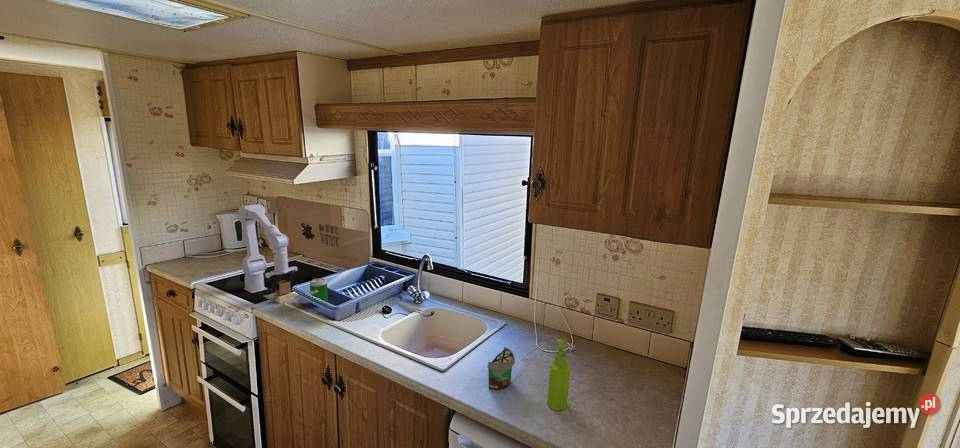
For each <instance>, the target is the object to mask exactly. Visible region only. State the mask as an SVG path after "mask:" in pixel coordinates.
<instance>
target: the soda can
mask: <svg viewBox="0 0 960 448" xmlns="http://www.w3.org/2000/svg"><path fill="white" fill-rule="evenodd" d="M309 293H310V294H311V295H312V296H315V297H317V298H320V299H321V300H324V301H328V302H329V299H328V298H329V296H328V295H329V294H328V293H329V292H328V281H327V280H326V279H325V278H319V277H318V278H313V279H312V280H311V281H310V282H309Z"/></svg>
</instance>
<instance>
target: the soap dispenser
mask: <svg viewBox="0 0 960 448" xmlns="http://www.w3.org/2000/svg"><path fill="white" fill-rule="evenodd" d="M555 342H556V344H557V346H558V350H557V352H555V355H554V360H552V361H551V362H550V364H549V365H550V366H549V377H548V388H547V389H548V390H547V402H546V404H547V406H548V408H550V409H551V408H552V409H551V410H553V409H554V411H557V410H562V411H564V409H565V410H566V409H567V408H566V407H568V399H569V398H568V397H569V388H570V387H569V385H570V384H569V383H570V372H571V365H570V364H569V362H567V359H568V358H567V357H568V355H567V353H565V349H567V346H566V345H567V344H566V343H565V341H564V340H563V338H562V339H561V338H555Z"/></svg>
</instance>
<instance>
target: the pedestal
mask: <svg viewBox="0 0 960 448" xmlns="http://www.w3.org/2000/svg"><path fill="white" fill-rule="evenodd" d="M273 293H274V294H272V293H271V294H272V300H274V301H276V302H278V303H280V304H284V303H287V301H288V302H290V301H291V302H292V301H294V300H295V299H294V294H295V293H294V292H292V291H291V292H290V293H286V294H282V295H280V294H278V293H275V292H273ZM272 300H271V301H272ZM274 301H273V302H274ZM276 302H275V303H276ZM278 303H277V304H278ZM280 304H279V305H280Z"/></svg>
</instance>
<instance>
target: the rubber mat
mask: <svg viewBox="0 0 960 448" xmlns="http://www.w3.org/2000/svg"><path fill="white" fill-rule="evenodd" d="M274 293H275V292H273V293H270V294H266V295H263V297H264V298H266V299H267V300H270V301H272V294H274ZM295 295H296V294H295ZM295 295H294V300H298V299H299V298H298V297H297V296H298V295H297V296H295ZM272 302H274V303H276V304H278V305H280V303H278V302H276V301H274V300H273V301H272ZM287 302H289V301H287ZM287 302H286V303H287Z"/></svg>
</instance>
